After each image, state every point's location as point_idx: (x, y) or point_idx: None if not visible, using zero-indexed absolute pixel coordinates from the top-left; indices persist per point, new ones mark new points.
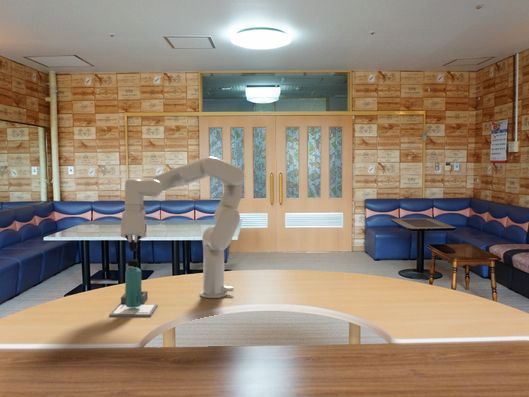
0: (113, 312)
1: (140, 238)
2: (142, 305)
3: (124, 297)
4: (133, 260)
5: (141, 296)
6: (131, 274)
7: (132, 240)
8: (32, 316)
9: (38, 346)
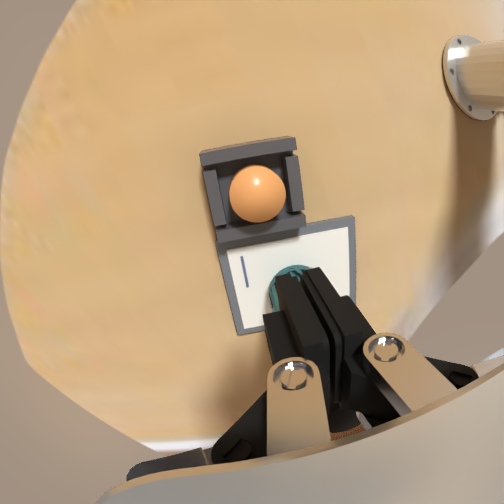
0: (242, 321)
1: (446, 362)
2: (308, 243)
3: (232, 240)
4: (351, 423)
5: (295, 210)
6: None
7: (329, 409)
8: (56, 352)
9: (198, 445)
